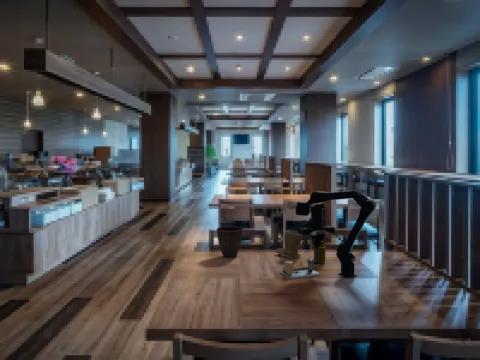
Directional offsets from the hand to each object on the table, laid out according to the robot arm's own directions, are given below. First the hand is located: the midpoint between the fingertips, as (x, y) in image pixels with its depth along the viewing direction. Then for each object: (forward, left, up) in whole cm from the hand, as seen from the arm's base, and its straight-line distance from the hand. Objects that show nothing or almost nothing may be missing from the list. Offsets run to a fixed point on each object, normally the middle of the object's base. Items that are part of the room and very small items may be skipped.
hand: (316, 247), depth 215 cm
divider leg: (0, +16, -11) cm, 19 cm away
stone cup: (+33, -4, -12) cm, 35 cm away
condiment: (+13, -10, -12) cm, 21 cm away
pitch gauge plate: (-1, +10, -12) cm, 16 cm away
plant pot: (+46, +28, -12) cm, 55 cm away
